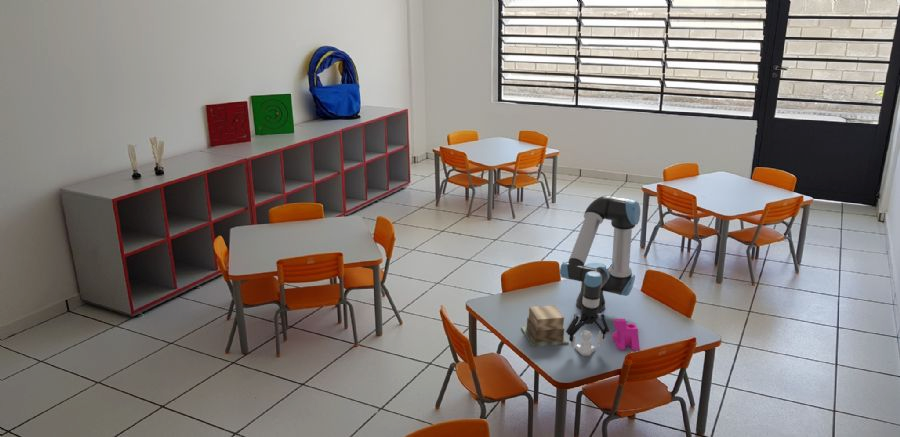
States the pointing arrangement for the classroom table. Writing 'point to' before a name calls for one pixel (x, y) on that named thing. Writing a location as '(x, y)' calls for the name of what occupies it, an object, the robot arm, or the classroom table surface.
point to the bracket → (625, 335)
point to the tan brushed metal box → (545, 326)
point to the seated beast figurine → (585, 344)
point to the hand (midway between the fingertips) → (586, 346)
